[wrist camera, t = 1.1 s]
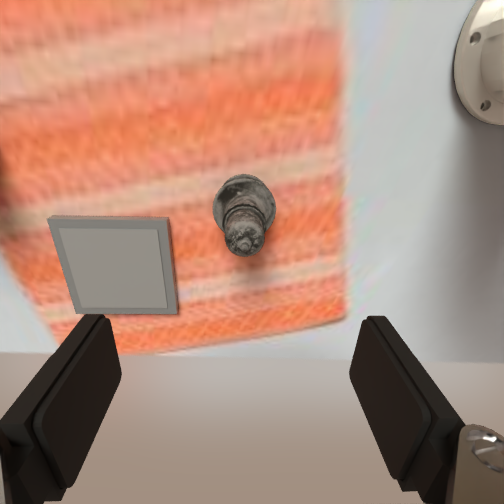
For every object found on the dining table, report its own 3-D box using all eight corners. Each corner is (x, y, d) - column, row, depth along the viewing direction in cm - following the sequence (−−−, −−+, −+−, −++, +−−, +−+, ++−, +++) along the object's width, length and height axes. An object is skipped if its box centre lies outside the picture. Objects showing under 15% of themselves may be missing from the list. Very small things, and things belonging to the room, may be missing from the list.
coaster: (168, 217, 30) (165, 220, 29) (178, 308, 35) (176, 314, 34) (52, 215, 30) (45, 219, 29) (80, 308, 35) (75, 314, 34)
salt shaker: (264, 231, 31) (275, 293, 20) (211, 220, 30) (193, 278, 20) (279, 178, 29) (300, 217, 18) (221, 164, 28) (208, 197, 17)
